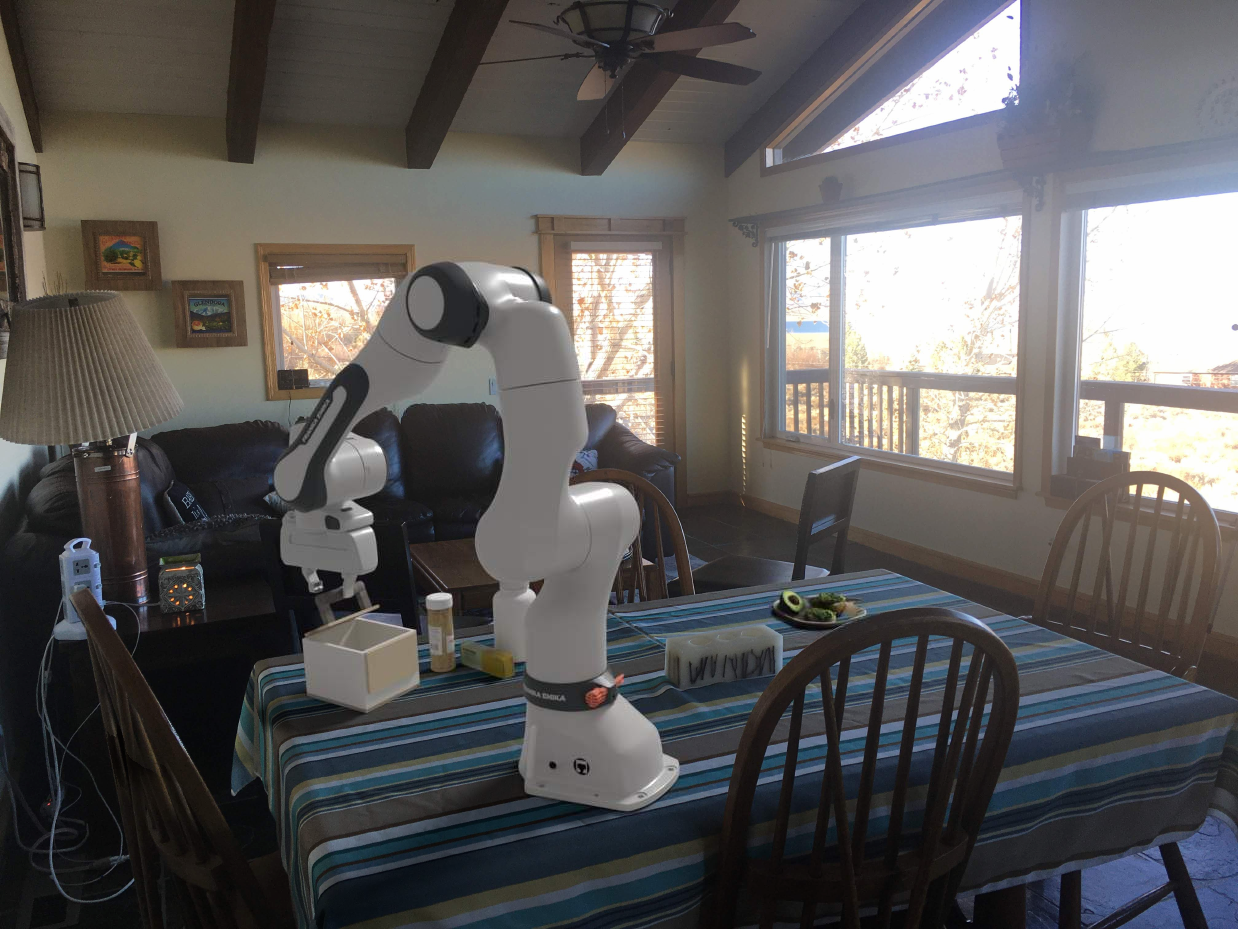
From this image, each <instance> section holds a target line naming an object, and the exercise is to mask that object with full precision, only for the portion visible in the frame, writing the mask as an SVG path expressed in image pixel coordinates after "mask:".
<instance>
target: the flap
mask: <svg viewBox="0 0 1238 929" xmlns="http://www.w3.org/2000/svg"><path fill="white" fill-rule="evenodd" d="M353 591H354V595H353V596H355V597H356V599H357V603H358V606H359V608H360V611H358V612H355V613H353V614H350V615H347V616H345V617H342V618H340V619H337V620H336V618H335V615H334V613H333V610H332V608H331V606H330V604H333V603H337V602H338V601H341V600H344V599H346V598H344V597H341V596H340V592H339V587H338V588H334V589H332V590H329V591H327V592H323V593H320V594H317V595H315V597H314V603H315V605H316V607H317V609H318V612H319V615H320V617H321V620H322V623H323V625H321V626H319V627H317V628H315V629H313V630H311V631H308V632H306V633H304V638H306V637H308V636H311V635H313V634H316V633H319V632H321V631H324V630H326V629H329V628H331V627H334V626H337V625H339V624H342V623H344V622H347V621H350V620H352V619H355V618H357V617H358V618H359V617H360V616H363V615H365V614H367V613H369V612H372V611H374V610H377V609H379V608H380V605H379V604H376V605H373V606H372V603H371V600H370V598H369V595H368V592H367V589H366V586H365V583H364V582H363V581H362V580H359V581H358V580H357V581H355V583H354V585H353Z"/></svg>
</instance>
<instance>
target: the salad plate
mask: <svg viewBox="0 0 1238 929" xmlns="http://www.w3.org/2000/svg"><path fill="white" fill-rule="evenodd" d="M771 600H773V601H774V602H773V604H772V609H773V611H774V612H775V614H776V615H777V616H778V617H779V618H780V619H782V620H783V621H785V622H787V623H788V624H790V625H792V626H793V625H794V626H796V627H799V628H804V629H812V630H821V629H822V630H823V629H830V628H831V629H832V628H835V627H841V626H840V625H842V624H845V623H847V622H849V621H851V620H855V619H857V618H859V617H863V616H865V617H866V616H867V614H868V611H867V610H866V609H864V608H862V607H860V606H858V605H855V604H856V603H859V602H862V601H863V598H862V597H846V596H844V593H842V592H841V593H840V594H839V595H838V594H836V593H835V592H831V593H830V592H826V593H825V592H821V591H820V592H819V594H811V595H807V596H800V595H799V594H798V593H796V592H795V591H793V590H790V589H785V590H783V591H782V592H781V594H780V596H774V597H772V598H771ZM840 615H846V616H849V617H850V618H848V619H847V620H841V621H836V620H837V618H836V617H837V616H840ZM842 626H843V625H842Z"/></svg>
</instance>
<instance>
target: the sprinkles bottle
mask: <svg viewBox="0 0 1238 929" xmlns="http://www.w3.org/2000/svg"><path fill="white" fill-rule="evenodd" d="M425 605H426V606H425V607H426V611H427V628H428V630H427V631H428V643H429V652H430V670H432V671H433V672H436V673H445V672H446V673H447V672H451V671H453V670H454V669H455V668H456V667H457V663H456V654H455V653H456V652H455V648H456V647H455V635H454V623H453V610H452V608H453V605H454V604H453V596H452V594H451V593H447V592H437V593H436V592H435V593H431V594H429V595H427V596H426V597H425Z"/></svg>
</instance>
